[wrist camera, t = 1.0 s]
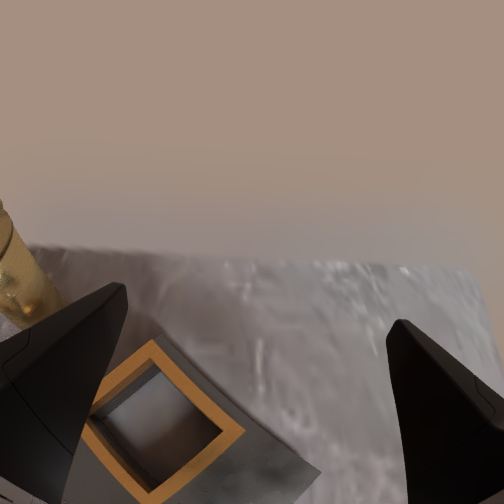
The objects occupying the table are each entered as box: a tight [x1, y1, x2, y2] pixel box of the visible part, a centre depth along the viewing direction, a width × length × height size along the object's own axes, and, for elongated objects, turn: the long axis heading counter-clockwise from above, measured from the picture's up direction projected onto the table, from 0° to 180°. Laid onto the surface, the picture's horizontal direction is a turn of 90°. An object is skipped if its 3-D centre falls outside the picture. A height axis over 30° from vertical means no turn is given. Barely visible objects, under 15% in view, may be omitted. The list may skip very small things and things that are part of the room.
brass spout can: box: [0, 200, 69, 331], centre depth 17 cm, size 8×5×13 cm
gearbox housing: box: [63, 333, 321, 504], centre depth 13 cm, size 16×16×6 cm
